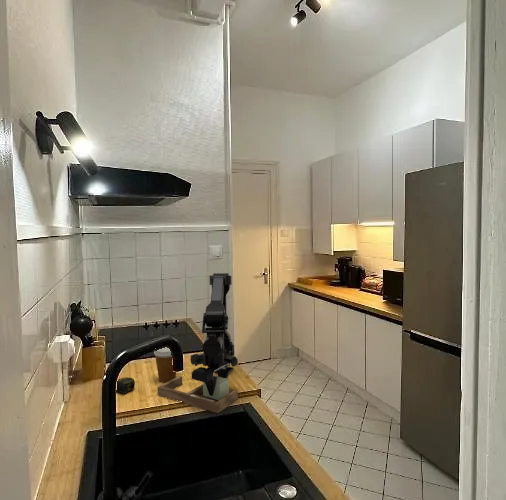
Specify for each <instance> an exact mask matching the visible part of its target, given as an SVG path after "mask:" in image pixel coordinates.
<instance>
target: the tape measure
mask: <svg viewBox="0 0 506 500" xmlns="http://www.w3.org/2000/svg"><path fill="white" fill-rule="evenodd" d="M117 380H118V381H117ZM117 380H116V381H117V391H116V392H119V393H121V394H126V393H128V392H131V391H132V390H134V388H135V386H136V382H135V379H134V378H133V377H129V376H128V377H127V376H126V377H121V378H119V379H117Z"/></svg>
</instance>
